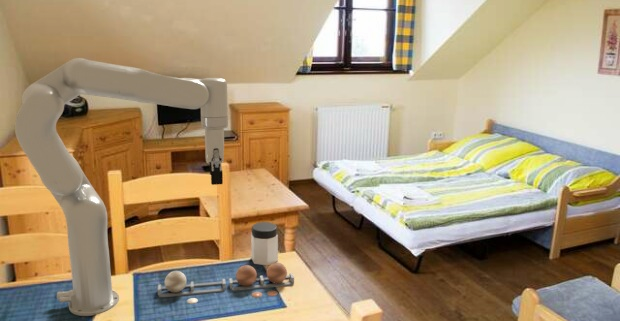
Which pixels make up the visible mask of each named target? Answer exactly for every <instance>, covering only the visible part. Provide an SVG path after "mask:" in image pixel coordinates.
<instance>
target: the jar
mask: <svg viewBox="0 0 620 321" xmlns="http://www.w3.org/2000/svg"><path fill="white" fill-rule="evenodd" d="M250 240H251V241H250V242H251V243H250V245H251V247H250V249H251V251H250V252H251V253H250V254H251V260H252V262H253V264H254V265H259V266H260V265H262V266H270V265H271V264H273V263H278V261H279V254H278V253H279V252H278V251H279V234H278V225H277V224H276V223H273V222H268V221H267V222H266V221H265V222H264V221H263V222H262V221H261V222H260V221H259V222H256V223H254V224H253V225H251V234H250Z"/></svg>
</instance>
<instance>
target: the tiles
mask: <svg viewBox="0 0 620 321" xmlns="http://www.w3.org/2000/svg"><path fill="white" fill-rule="evenodd" d="M278 293H279V292H278V291H277V290H269V291H266V294H267V296H270V297H274V296H277V295H278ZM262 296H263V293H262V292H260V291H255V292H254V291H253V292H252V293H251V297H252V298H261V297H262ZM198 302H199V299H198V298H195V297H191V298H188V299H187V300H186V303H187V304H190V305H193V304H197V303H198Z"/></svg>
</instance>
